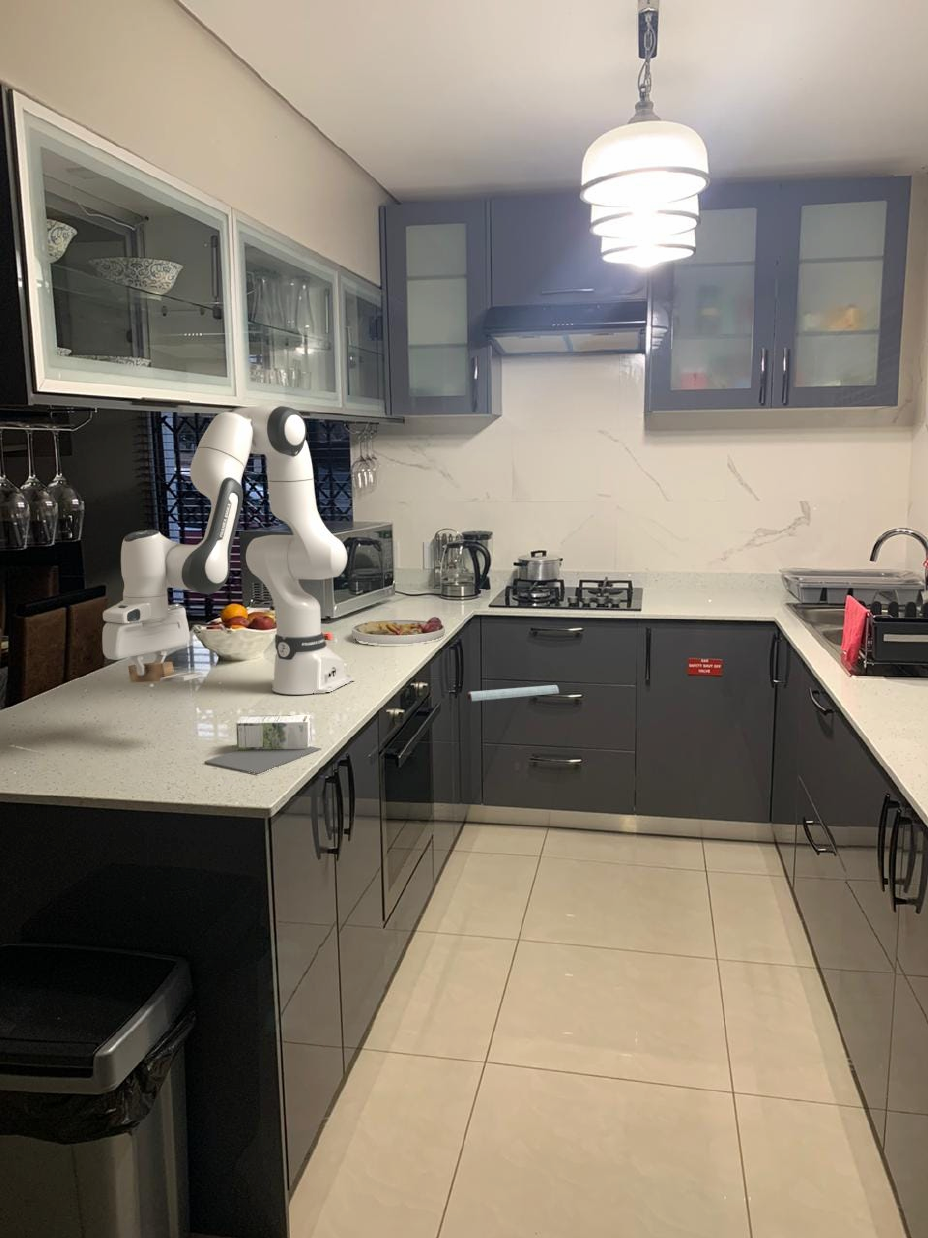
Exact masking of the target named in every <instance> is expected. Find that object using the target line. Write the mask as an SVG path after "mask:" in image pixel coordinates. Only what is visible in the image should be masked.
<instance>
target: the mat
mask: <svg viewBox="0 0 928 1238" xmlns="http://www.w3.org/2000/svg"><path fill="white" fill-rule="evenodd" d="M321 750H322V748H320V747H317V746H316V747H315V746H311V745H310V747H309V748H308V749H269V750H238V749H235V750H231V751H229V752H227V753H224V754H221V755H219V756H216V757H213V758H210V759H206V760H205V761H204V765H209V766H212V767H213V766H214V767H218V768H221V769H227V770H232V771H236V770H237V771H236V772H241V771H244V772H243V773H245V772H250V773H255V774H260V773H262V772H265V771H267V770H269V769H272V768H274V767H277V768H279V766H280V767H281V765H282V766H284V765H286V764H287V765H288V764H289V763H293V762H294V761H297V760H299V759H301V757H302V758H304V757H306V756H310V755H312V754H313V753H316V752H319V751H321ZM272 770H273V769H272ZM267 772H268V771H267ZM250 773H249V774H250ZM265 773H266V772H265ZM255 774H254V775H255ZM262 774H263V773H262ZM260 775H261V774H260Z"/></svg>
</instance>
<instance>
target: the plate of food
mask: <svg viewBox="0 0 928 1238" xmlns="http://www.w3.org/2000/svg"><path fill="white" fill-rule="evenodd" d="M445 631H446V627H445V625H444V624H443V623H442V620H441V619H440V618H439V617H436V616H434V617H431V618H430V619H428V620H419V619H415V620H413V619H388V620H387V619H386V620H376V621H375V620H373V621H372V620H370V621H366V622H363V623H362V622H361V623H359V624H356V625H353V626H352V627H351V634H352V638H353V640H355V639H356V640H358V641H363V642H368V643H377V644H413V643H421V642H427V641H432V640H436V639H439V638H441V637H443V638H444V636H445Z"/></svg>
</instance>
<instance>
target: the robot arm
mask: <svg viewBox="0 0 928 1238" xmlns="http://www.w3.org/2000/svg"><path fill="white" fill-rule="evenodd" d="M306 438H307V426H306V422H305V419H304V418H303V415H302V414H301V413H300V412H299V411H298V410H296V409H295V408H293V407H290V406H285V405H279V406H276V405H264V404H263V405H262V404H260V405H255V406H249V407H246V406H245V407H244V406H239V407H238V406H237V407H235V408H232V409H229V410H228V411H224V412H221V413H218V414H217V415H215V417H214V418H213V419H212V420H211V422H210V423H209V424H208V426H207V429H206V430H205V432H204V434H203V436H202V437H201V439H200V441H199V443H198V446H197V447H196V451H195V453H194V455H193V457H192V460H191V464H190V469H189V476H190V480H191V482H192V484H193V486H194V487H195V489H196V490H197V491H198V492H199V493H200V494H202V495H203V496H205V497H206V498H208V499H209V501H210V504H211V509H210V513H209V518H208V521H207V525H206V529H205V532H204V536H203V539H202V540H201V541H200V542H198V544H196V545H193V544H183V543H179V542H177V541H174V540H171V539H170V538H167V537H166V536H165V535H163V534H162V533H161V532H160V531H159V530H155V529H145V530H138V531H133V532H131V533H128V534H127V535H126V536H124V538H123V540H122V543H121V550H120V568H121V569H120V570H121V571H120V573H121V577H122V580H123V584H124V586H123V587H124V588H123V592H122V599H123V600H121V601H119V602H118V603H116V604H115V605H113V606H111V607H109V608H107V609H105V610H104V611H103V612H102V619H103V621H105V622H106V623H105V624H104V626H103V627H102V638H101V639H102V641H101V642H102V643H101V644H102V653H103V655H104V657H105V658H106V659H109V660H115V661H118V660H123V659H124V660H125V659H128V658H130V659H131V661H132V663H133V665H135V666H136V667H137V674H138V675H140V676H142V675H146V674H148V671H147V670H148V666H144V665H143V664H144V663H143V661H142V660H144V655H146V654H151V653H154V654H155V655H156V656H155V658H154V659H155V660H154V662H153V663H160V662H165V658H166V657H167V650H169V649H174V648H175V649H176V648H179V647H183V646H187V645H188V644H189V643H190V641H191V635H190V629H189V623H188V619H187V613H186V612H187V611H186V608H185V607H184V606H183V605H182V604H180V603H174V604H169V601H168V589H169V588H173V589H177V590H182V591H183V590H184V591H192V592H195V593H199V594H203V595H212V594H215V593H216V592H218V591H220V589H222V588H223V586H224V585H225V583H226V582H227V580H228V578H229V577H230V568H231V553H232V548H233V544H234V540H235V535H236V531H237V527H238V523H239V521H240V520H239V519H240V514H241V510H242V507H243V506H242V505H243V499H244V490H243V487H242V485H241V484H242V478H243V473H244V471H245V469H246V466H247V463H248V460H249V457H250V454H255V455H264V456H265V458H266V459H267V461H266V464H267V465H266V468H267V469H266V470H267V471H266V473H267V474H266V475H267V476H266V477H267V489H268V490H267V491H268V500H269V509H270V511H271V513H272V514H273V516H274V517H276V518H277V519H278V520H280V521H282V522H284V523H285V524H286V525H287V526H289V528H290V529H291V532H292V534H270V535H269V534H268V535H263V536H259V537H255V538H252V540H251V541H250V543H249V544H248V545H247V548H246V553H245V561H246V565H247V567H248V569H249V571H250V572H251V574H252V575H254V576H255V577H256V578H258V579H259V580H260V581H261V582H262V583H263V585H265V587H266V589H267V591H268V592H269V594H270V596H271V597H270V598H271V599H272V601H273V605H274V614H275V623H276V634H275V636H274V637H275V638H274V647H275V650H276V654H275V655H274V656H275V657H274V671H273V673H274V674H273V680H272V681H271V686H272V688H271V690H272V691H273V692H274V693H276V694H277V693H278V694H283V695H310V694H311V695H313V693H314V694H326V693H325V692H330V691H332V692H334V691H333V690H335V689H336V688H338V687H340V686H342V685H344V684H346V683H348V682H349V681H351V680H353V679H354V678H355V676H352V675H349V674H346V666H345V661H344V659H343V657H340V656H339V655H338V654H337V653H336V652H334V651H333V650H332V649H330V648H329V647H328V646H327V642H326V641H328V642H329V641H332V640H333V637H334V636H333V634H332V632H322V620H321V619H322V617H321V616H322V614H321V605H320V602H319V601H318V600H317V598H316V597H314V596H313V595H312V594H309V593H308V592H306V591H305V590H304V589H303V588H302V586H301V584H300V581H299V580H315V581H316V580H320V581H321V580H326V579H327V580H328V579H332V578H337V577H340V575H342V573H343V572H344V571H345V569H346V567H347V563H348V552H347V549H346V547H345V545H344V543H343V542H342V540H341V539H339V538H338V537H337V536H335V535H334V534H333V533H331V531H330V530H329V529H328V528H327V527H326V525H325V523H324V522H323V520H322V518H321V515H320V513H319V511H318V506H317V499H316V491H315V481H314V480H315V479H314V468H313V462H312V456H311V451H310V448H309V444H308V441H307V440H306ZM335 691H336V690H335ZM330 693H331V692H330Z"/></svg>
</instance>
